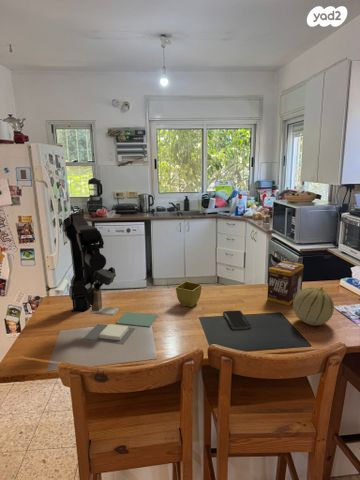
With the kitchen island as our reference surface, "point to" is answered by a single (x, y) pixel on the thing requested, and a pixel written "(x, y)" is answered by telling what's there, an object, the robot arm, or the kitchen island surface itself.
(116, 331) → the tile
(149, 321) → the board
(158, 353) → the kitchen island surface
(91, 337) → the mat
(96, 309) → the upright brown pillar
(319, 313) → the cantaloupe
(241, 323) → the phone
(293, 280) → the supplement box
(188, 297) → the flower pot
